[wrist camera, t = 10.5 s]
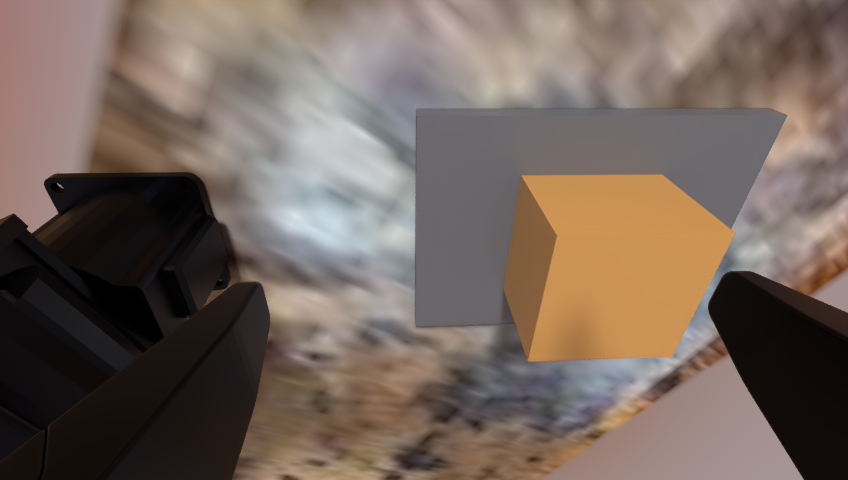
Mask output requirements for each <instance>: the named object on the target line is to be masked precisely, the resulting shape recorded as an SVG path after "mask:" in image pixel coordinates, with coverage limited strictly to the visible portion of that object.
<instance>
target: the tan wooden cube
mask: <svg viewBox="0 0 848 480" xmlns="http://www.w3.org/2000/svg"><path fill="white" fill-rule="evenodd" d="M734 235H735V232H734V231H732V230H731V229H730V228H729V227H727V226H726V225H725V224H724V223H722V222H721V221H720V220H719V219H717V218H716V217H715V216H714V215H712V214H711V213H710V212H709V211H707V210H706V209H705V208H704V207H702V206H701V205H700V204H699V203H697V202H696V201H695V200H694V199H692V198H691V197H690V196H688V195H687V194H686V193H685V192H683V191H682V190H681V189H680V188H678V187H677V186H676V185H675V184H673V183H672V182H671V181H670V180H668V179H667V178H666V177H665V176H663V175H662V174H661V175H521V181H520V187H519V193H518V199H517V205H516V212H515V218H514V224H513V230H512V236H511V243H510V249H509V255H508V261H507V267H506V273H505V280H504V286H503V289H504V292H505V295H506V298H507V301H508V304H509V307H510V310H511V313H512V316H513V319H514V322H515V325H516V328H517V331H518V334H519V337H520V340H521V343H522V346H523V349H524V352H525V355H526V358H527V361H528V362H533V361H562V360H591V359H620V358H649V357H672V356H673V354H674V352H675V350H676V348H677V346H678V344H679V342H680V340H681V339H682V337H683V335H684V333H685V331H686V329H687V327H688V325H689V323H690V321H691V319H692V317H693V315H694V313H695V311H696V309H697V307H698V305H699V303H700V301H701V299H702V297H703V295H704V293H705V292H706V290H707V288H708V286H709V284H710V282H711V280H712V278H713V276H714V274H715V272H716V270H717V268H718V266H719V264H720V262H721V260H722V258H723V256H724V254H725V252H726V250H727V248H728V246H729V245H730V243H731V241H732V239H733V237H734Z"/></svg>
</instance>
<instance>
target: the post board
mask: <svg viewBox="0 0 848 480" xmlns="http://www.w3.org/2000/svg"><path fill="white" fill-rule="evenodd" d="M786 117H787V115H786V114H783V113H781V112H778V111H776V110H773V109H771V108H694V109H416V222H415V323H416V327H422V326H453V325H485V324H515V322H514V319H513V316H512V313H511V310H510V307H509V304H508V301H507V298H506V295H505V292H504V289H503V286H504V280H505V273H506V267H507V261H508V255H509V249H510V243H511V236H512V230H513V224H514V218H515V212H516V205H517V199H518V193H519V187H520V181H521V175H661V174H662V175H663V176H665V177H666V178H667V179H668V180H670V181H671V182H672V183H673V184H675V185H676V186H677V187H678V188H680V189H681V190H682V191H683V192H685V193H686V194H687V195H688V196H690V197H691V198H692V199H694V200H695V201H696V202H697V203H699V204H700V205H701V206H702V207H704V208H705V209H706V210H707V211H709V212H710V213H711V214H712V215H714V216H715V217H716V218H717V219H719V220H720V221H721V222H722V223H724V224H725V225H726V226H727V227H729V228H730V229H731V228H732V226H733V224H734V222H735V220H736V218H737V216H738V214H739V212H740V210H741V208H742V206H743V204H744V202H745V200H746V198H747V196H748V194H749V192H750V190H751V188H752V186H753V184H754V182H755V180H756V178H757V176H758V174H759V172H760V170H761V168H762V166H763V164H764V162H765V160H766V157H767V155H768V153H769V151H770V149H771V147H772V145H773V143H774V141H775V139H776V137H777V135H778V133H779V131H780V129H781V127H782V125H783V123H784V121H785V119H786Z"/></svg>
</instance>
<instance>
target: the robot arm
mask: <svg viewBox="0 0 848 480" xmlns="http://www.w3.org/2000/svg"><path fill="white" fill-rule="evenodd" d="M184 181H187V182H189V183H191V185H192V186H193V187H192V188H191V187H188V186H187V185H186V184H185V183H184ZM57 183H58V184H60V185H61V186H62V187H63V188H64V189H62V188H61V187H59V186H58V185H57ZM44 186H45V188H46V190H47V192H48V194H49V196H50V197H51V200H52V202H53V203H54V205H55V207H56V209H57V211H58V214H57V215H56V216H54V217H53V218H52V219H51V220H49V221H48V222H46V223H45V224H44V225H42V226H41V227H40V228H39V229H37V230H36V231H34V232H33V233H32V234H31V233H30V232H29V231H28V230H27V229H26V228H28V226H27V225H26V224H25V223H24V222H23V221H22V220H21V219H20V218H18V217H17V216H16V215H15V214H11V215H9V216H7V217H5V218H2V219H0V480H232V478H233V475H234V472H235V468H236V465H237V462H238V459H239V455H240V452H241V449H242V446H243V442H244V439H245V436H246V433H247V429H248V426H249V423H250V420H251V416H252V413H253V409H254V406H255V402H256V398H257V393H258V388H259V382H260V377H261V372H262V366H263V361H264V355H265V350H266V344H267V339H268V333H269V328H270V314H269V309H268V305H267V301H266V297H265V293H264V289H263V286H262V285H261V283H259V282H257V281H255V282H237V283H235V284H234V285H232V286H231V287H230V288H228V289H227V290H226V291H224V292H223V293H222V294H221V295H219V296H218V297H217V298H215V299H214V300H213V301H211V302H210V303H209V304H207V305H206V306H205V307H203V306H204V304H205V302H206V301H207V299H208V297H209V295H210V293H211V292H212V290H222V289H225V288H227V286H228V284H229V282H230V280H231V278H230V274H229V271H228V267H227V263H228V260H229V259H228V256H227V252H226V249H225V245H224V242H223V239H222V235H221V232H220V229H219V225H218V222H217V219H216V218H215V217H214V216H213V215H211V212H210V208H209V205H208V202H207V199H206V195H205V192H204V189H203V185H202V182H201V180H200V178H198V177H197V176H196V175H195V174H192V173H188V172H170V173H69V174H54V175H52V176H51V177H49V178H48V179H46V180H45V182H44ZM218 279H221V280H222V281H219V280H218ZM708 311H709V314H710V317H711V319H712V321H713V323H714V325H715V327H716V329H717V331H718V333H719V335H720V337H721V339H722V341H723V343H724V345H725V347H726V349H727V351H728V353H729V355H730V357H731V359H732V361H733V363H734V365H735V367H736V369H737V371H738V373H739V375H740V376H741V378H742V380H743V382H744V384H745V385H746V387H747V389H748V391H749V392H750V394H751V395H752V397H753V399H754V400H755V402H756V404H757V405H758V407H759V408H760V410H761V412H762V413H763V415H764V417H765V418H766V420H767V421H768V423H769V424H770V426H771V428H772V429H773V431H774V432H775V434H776V436H777V437H778V439H779V441H780V442H781V444H782V445H783V447H784V449H785V450H786V452H787V453H788V455H789V456H790V458H791V460H792V461H793V463H794V465H795V466H796V468H797V469H798V471H799V472H800V474H801V476H802V477H803V479H804V480H848V313H846V312H845V311H842V310H840V309H838V308H835V307H833V306H831V305H828V304H826V303H824V302H821V301H819V300H817V299H814V298H812V297H810V296H807V295H805V294H803V293H800V292H798V291H796V290H793V289H791V288H789V287H786V286H784V285H782V284H780V283H777V282H775V281H773V280H770V279H768V278H766V277H763V276H761V275H759V274H756V273H754V272H751V271H730V272H727V273H726V274H724V275H723V276H722V278H721V280H720V282H719V284H718V285H717V287H716V289H715V291H714V293H713V295H712V297H711V299H710V301H709V304H708ZM187 318H189V319H188V320H186V319H187Z"/></svg>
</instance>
